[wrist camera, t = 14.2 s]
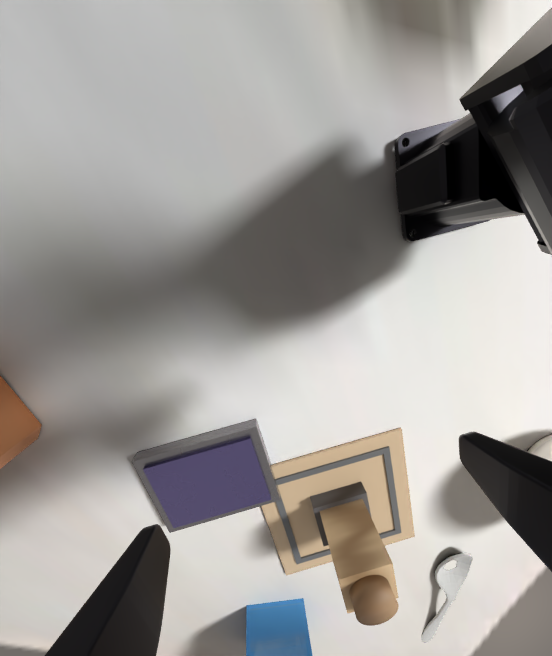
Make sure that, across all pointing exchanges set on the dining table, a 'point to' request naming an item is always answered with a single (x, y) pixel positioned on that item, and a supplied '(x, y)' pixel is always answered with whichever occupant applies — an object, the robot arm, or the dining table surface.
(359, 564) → the stamp
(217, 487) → the ink pad
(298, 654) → the perfume bottle
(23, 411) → the whiskey bottle
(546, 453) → the lidded jar
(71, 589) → the dining table surface
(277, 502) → the print sheet
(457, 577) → the spoon
